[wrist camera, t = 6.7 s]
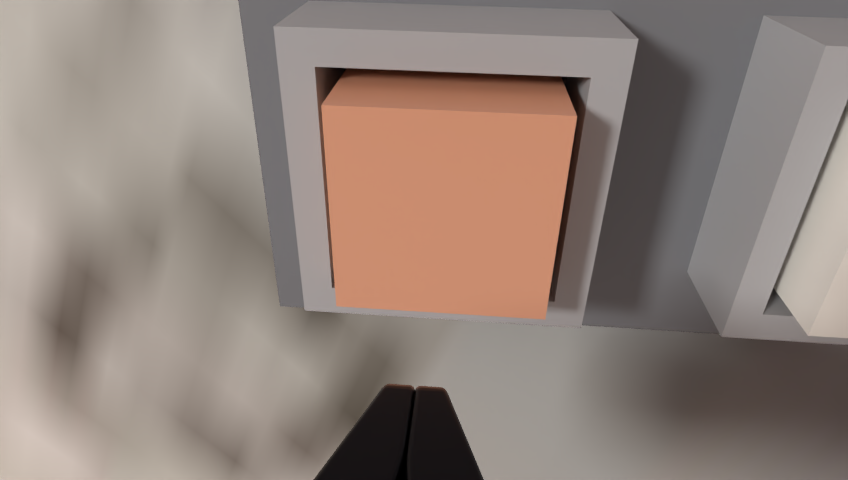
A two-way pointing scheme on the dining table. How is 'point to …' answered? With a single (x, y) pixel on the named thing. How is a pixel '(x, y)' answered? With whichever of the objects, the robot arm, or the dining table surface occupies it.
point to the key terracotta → (446, 189)
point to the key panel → (588, 141)
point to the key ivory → (821, 249)
